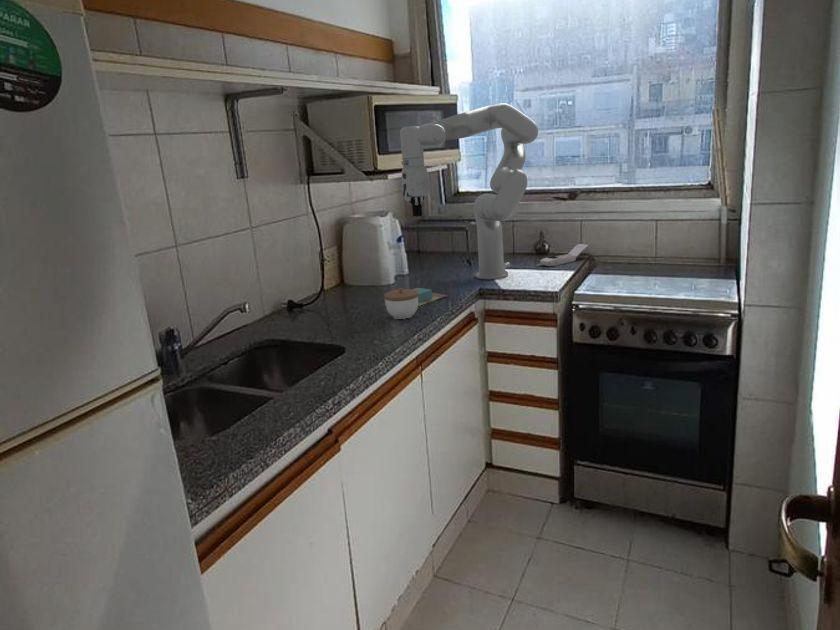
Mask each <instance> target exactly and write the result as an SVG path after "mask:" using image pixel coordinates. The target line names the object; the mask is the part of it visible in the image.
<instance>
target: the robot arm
mask: <svg viewBox="0 0 840 630" xmlns="http://www.w3.org/2000/svg"><path fill="white" fill-rule="evenodd" d="M495 129H496V130H497V129H501V130H500V137H501V140H502V141H501V142H502V143H503V148H504V149H503V150H504V152H503V154H502V157H501V159H500V161H499V163H498V164H497V167H496V168H495V170H494V172H493V173H492V176H491V178H490V181H489V187H490V189H491V191H493V192H494V193H482V194H481V195H479V196H478V197H476V199H475V201H474V203H473V215H474V218H475V223H476V231H477V233H476V234H477V235H476V236H477V238H476V239H477V252H478V253H477V254H478V255H477V257H478V268H479V269H478V272H476V273H475V278H477V279H479V280H499V279H503V278H507V277H508V276H509V272H508V271H507V270H506V269H507V268H509V267H511V262H509V261H508V262H504V240H503V235H504V234H503V227H502V226H503V225H502V222H505V221H507V220H508V219H510V218H511V217H512V215H513V214H514V212H515V211H516V210H517V207H518V205H519V203H520V202H521V200H522V198H523V196H524V195H525V193H526V190H527V187H528V178H527V175H526V173H525V171H523V170H522V169H523V167H524V165H525V162H526V159H527V158H526V157H527V155H526V149H525V145H527V144H531V143H532V142H534V141H535V140H537V138H538V135H539V127H538V125H537V123H536V122H535V121H534V120H533V119H532V118H530V117H529V116H528V115H526V114H524V113H523V112H522V111H520V110H519V109H518V108H516V107H514V106H513V105H511V104H508V103H506V102H499V103H495V104H489V105H485V106H482V107H478V108H475V109H472V110H467V111H464V112H460V113H458V114H455V115H451V116H449V117H445V118H442V119H439V120H435V121H432V122H428V123H424V124H421V125H419V126H418V125H412V126H403V127H401V128H400V130H399V133H400V134H399V137H400V146H401V159H402V160H403V161H401V166H402V168H401V193H402V196H403V197H404V201H406V202H408V203H410V205H411V207H412V209H411V210H412V217H423V207H422V205H423V204H424V200H425V199H427V198H428V197H429V194H430V193H431V184H430V177H429V172H428V168H427V166H426V165H425V157H424V155H425V154H424V148H426V147H431V148H432V147H438V146H441V145H442V144H443V143H444V142H445V141H449V140H450V141H451V140H459V139H465V138H470V137H472V136H475V135H479V134H482V133H485V132H488V131H491V130H495Z"/></svg>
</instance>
